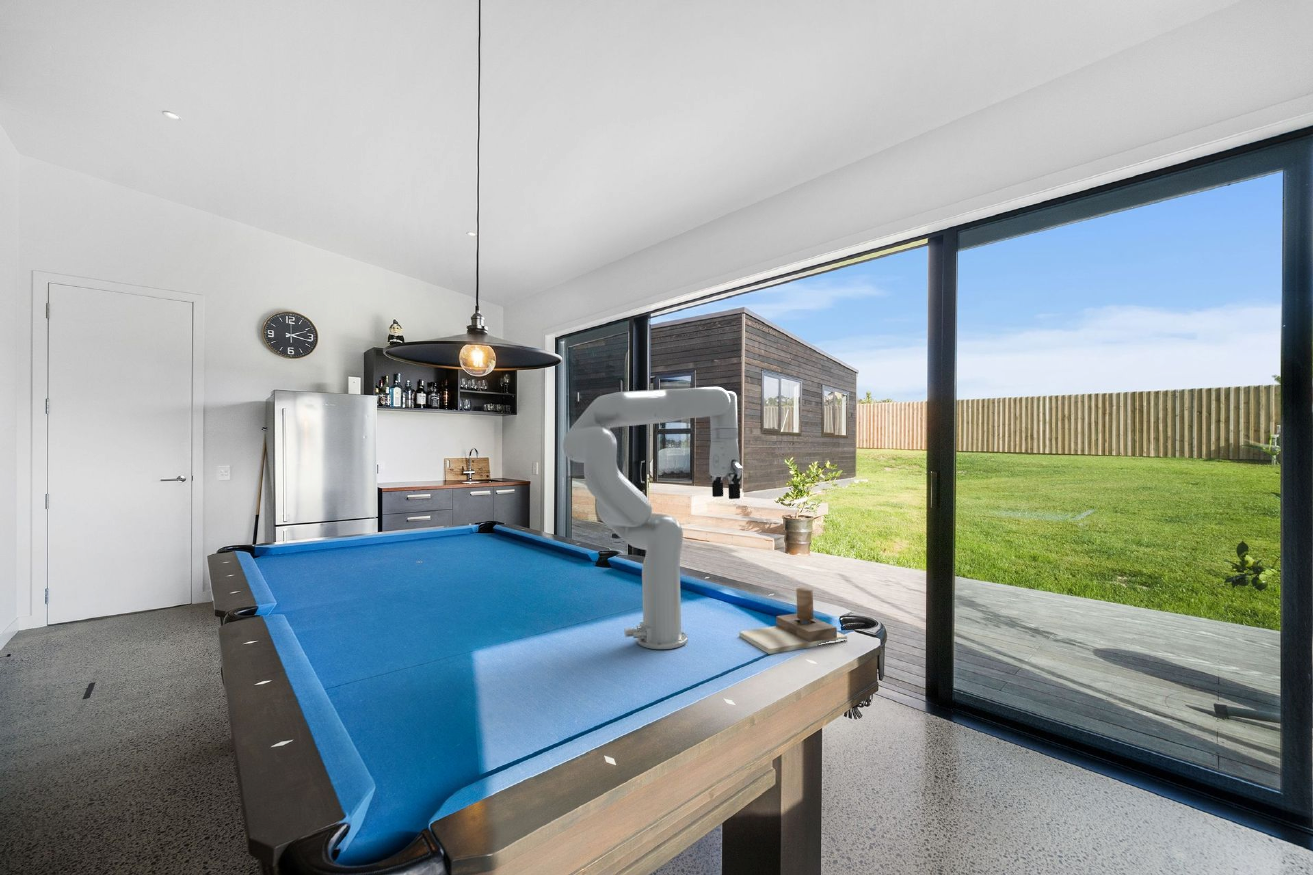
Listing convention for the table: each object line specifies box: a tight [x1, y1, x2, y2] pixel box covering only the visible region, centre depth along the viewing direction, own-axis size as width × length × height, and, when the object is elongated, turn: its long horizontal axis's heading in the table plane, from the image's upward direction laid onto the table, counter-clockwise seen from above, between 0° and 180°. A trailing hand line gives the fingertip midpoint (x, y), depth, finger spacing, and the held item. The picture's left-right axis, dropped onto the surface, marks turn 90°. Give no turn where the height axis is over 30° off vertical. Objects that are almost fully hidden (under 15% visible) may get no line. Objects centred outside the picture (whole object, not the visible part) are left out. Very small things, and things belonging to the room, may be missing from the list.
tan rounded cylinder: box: [795, 587, 815, 625], centre depth 139 cm, size 4×4×10 cm
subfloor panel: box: [738, 612, 848, 655], centre depth 138 cm, size 22×14×4 cm, turn 111°
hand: (725, 497), depth 153 cm, fingers open, 9 cm apart
